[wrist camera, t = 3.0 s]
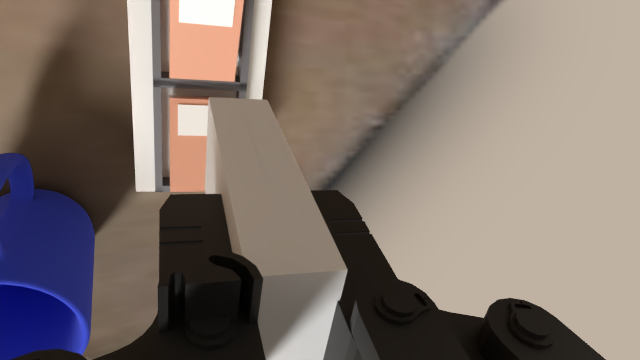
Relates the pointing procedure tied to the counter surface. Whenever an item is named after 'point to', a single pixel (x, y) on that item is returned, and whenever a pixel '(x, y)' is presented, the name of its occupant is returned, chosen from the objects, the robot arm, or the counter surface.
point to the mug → (42, 266)
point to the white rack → (181, 81)
